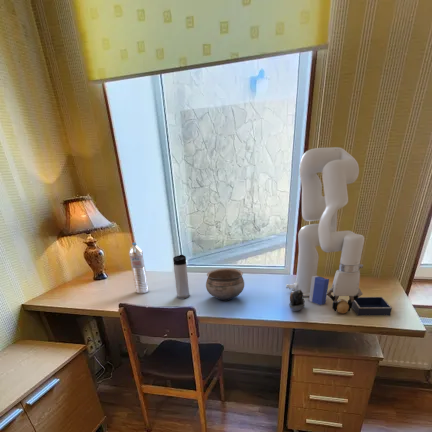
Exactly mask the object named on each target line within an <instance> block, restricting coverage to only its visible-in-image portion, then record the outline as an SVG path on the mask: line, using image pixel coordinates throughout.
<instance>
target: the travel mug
mask: <svg viewBox="0 0 432 432" xmlns="http://www.w3.org/2000/svg"><path fill="white" fill-rule="evenodd" d="M172 262H173V272H174V280H175V281H174V282H175V288H176V297H177V299H182V300H183V299H188V298H189V297H190V290H189V289H190V288H189V277H188V266H187V256H186V255H185V254H179V255H175V256H174V257H173V258H172Z"/></svg>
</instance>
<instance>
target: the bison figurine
mask: <svg viewBox="0 0 432 432" xmlns="http://www.w3.org/2000/svg"><path fill="white" fill-rule="evenodd" d="M305 303H306V300H305V299H304V296H303V293H302V291H301V289H300V290H296V291H295V292H292V291H291V292H290V295H289V308H290V309H291V310H292V311H293V312H298V311H300V310H302V309H303V308H305Z"/></svg>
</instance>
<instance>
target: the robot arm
mask: <svg viewBox="0 0 432 432" xmlns="http://www.w3.org/2000/svg"><path fill="white" fill-rule="evenodd" d="M318 173H322V174H321V175H322V181H321V178H320V177H319V175H318ZM359 174H360V167H359V163H358V161H357V159H355V157H354V156H352V155H351V154H350V153H349V152H348V151H347V150H346V149H344V148H343V147H340V146H339V147H338V146H334V147H333V146H332V147H315V148H311V149H308V150H306V151H305V152H304V153H303V155H302V156H301V159H300V162H299V178H300V184H301V217H302V219H303V220H304V221H305V222H315V221H317V222H318V223H312V224H306V225H304V226H302V227H301V228H300V229H299V231H298V233H297V235H298V236H297V241H298V254H297V255H298V256H297V268H296V276H295V278H296V279H295V281H294V283H292V284H290V283H289V284H285V288H286V289H288V290H291V293H292V292H295V291H296V290H300V289H301V291H302V293H303V297H310V289H311V282H312V276H316V275H317V273H318V268H319V267H318V266H319V258H320V256H319V253H318V250H317V248H316V247H320V249H321V251H322V252H324V253H335V252H341V254H340V261H339V267H338V269H336V271H335V274H334V277H333V281H332V285H331V287H330V289H328V290H327V293H326V294H327V297H328V298H329V299H330V300H332V306H331V308H332V310H333V311H334V312H337V304H338V303H337V301H338V300H339V299H340V298H339V297H348V300H347V303H348V305H349V310H348V311H347V312H350V311H351V310H352V309H353V308H352V303H353V302H354V300H356V299H357V298H358V297H362V295H363V292H362V290H361V289H360V279H361V271H360V269H363V267H364V264H363V263H362V264H361V260H362V254H363V249H364V244H365V236H364V235H362V234H360V233H356V232H354V231H352V230H339V231H338V229H337V228H338V227H337V226H338V210H341V209H342V208H344V207H345V206H346V205H348V203H349V195H348V194H349V193H348V185H350V184H353V183H355V182H356V181H357V180H358V177H359V176H360V175H359ZM323 193H324V196H323ZM317 276H318V275H317Z"/></svg>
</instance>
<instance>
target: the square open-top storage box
mask: <svg viewBox="0 0 432 432" xmlns="http://www.w3.org/2000/svg"><path fill="white" fill-rule="evenodd" d="M351 309H352V310H353V311H354V312H355V313H356V316H360V317H361V316H362V317H363V316H364V317H365V316H370V317H371V316H391V312H392V309H393V307H392V306H391V305H390V303H388V301H387V300H386V299H385V298H384V297H383V296H359V297H358V298H357V299H356V300H354V302H353V303H352V308H351Z"/></svg>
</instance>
